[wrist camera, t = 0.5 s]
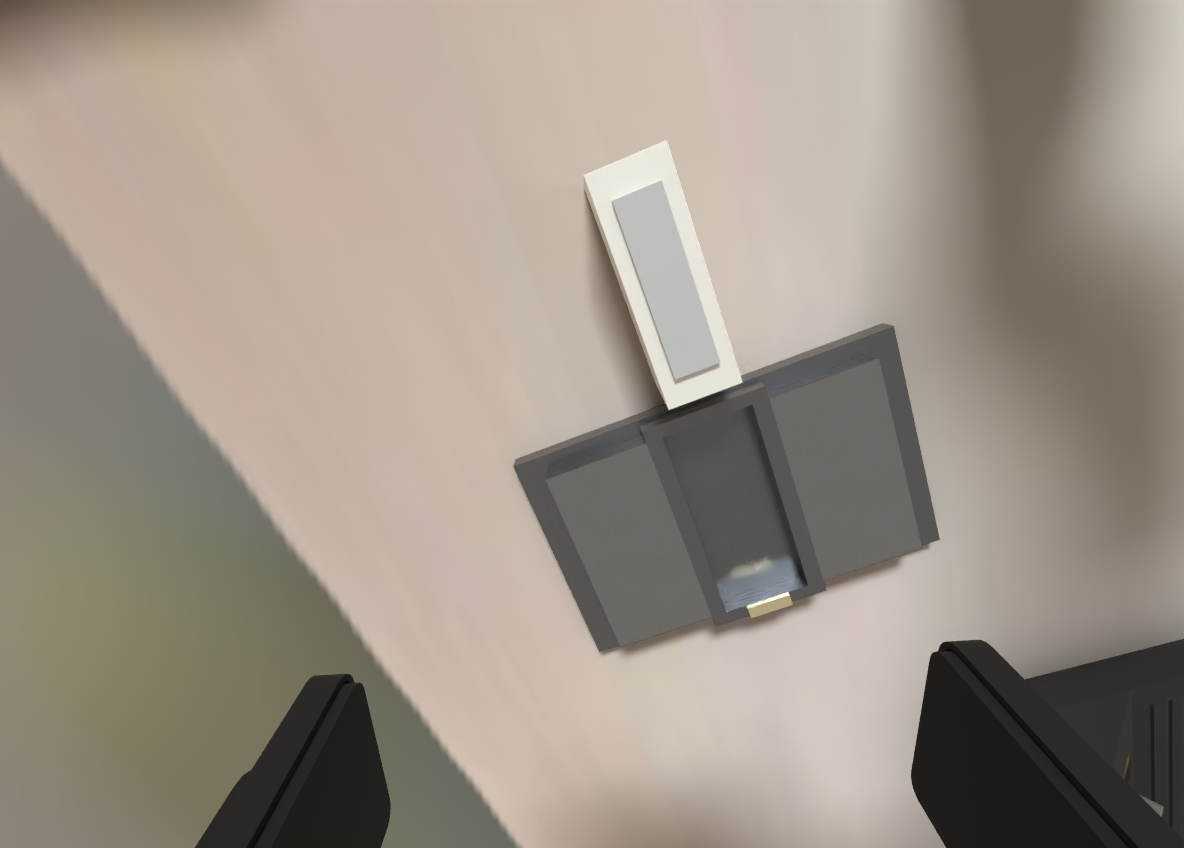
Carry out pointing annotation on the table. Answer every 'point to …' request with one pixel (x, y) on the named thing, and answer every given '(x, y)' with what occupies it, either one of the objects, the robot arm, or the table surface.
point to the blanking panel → (663, 274)
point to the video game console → (1130, 719)
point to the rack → (737, 493)
